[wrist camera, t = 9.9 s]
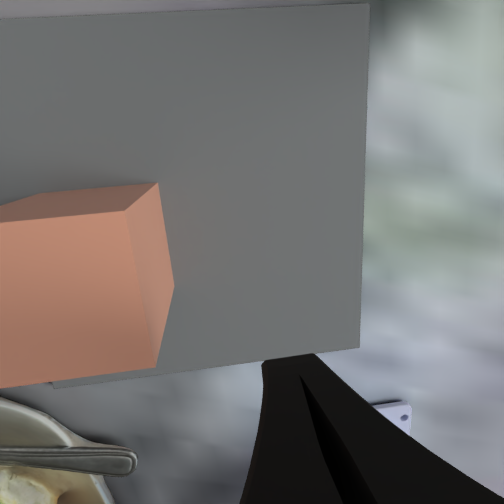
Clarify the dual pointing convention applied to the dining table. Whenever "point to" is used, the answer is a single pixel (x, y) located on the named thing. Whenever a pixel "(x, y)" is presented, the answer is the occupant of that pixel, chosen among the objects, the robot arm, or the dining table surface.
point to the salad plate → (54, 461)
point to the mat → (210, 161)
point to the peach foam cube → (82, 283)
